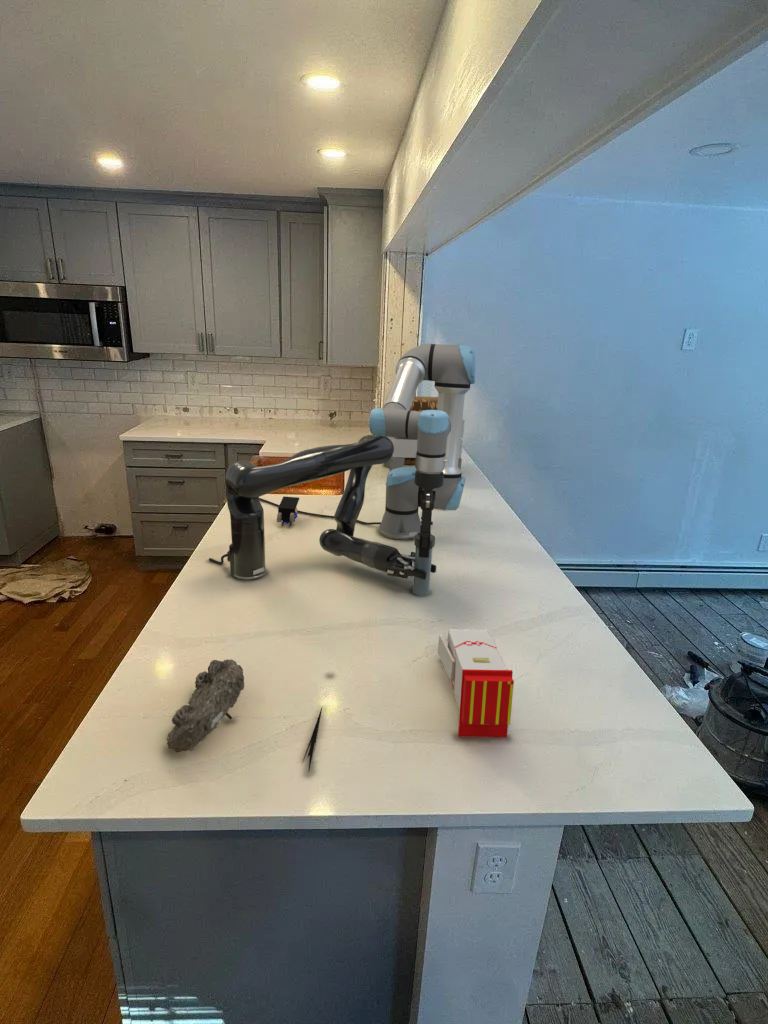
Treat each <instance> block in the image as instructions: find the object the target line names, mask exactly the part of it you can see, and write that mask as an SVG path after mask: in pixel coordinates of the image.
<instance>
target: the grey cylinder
mask: <svg viewBox="0 0 768 1024" xmlns="http://www.w3.org/2000/svg"><path fill="white" fill-rule="evenodd" d="M433 549H434V547H432V548H429V558H424V557H419V547H417V546H415V550H414V552H415V562H413V566H414V569H415V568H416V569H419V570H422V571H425V572H427V578H426V579H425V580H423V579H420V578H417V577H414V576H413V577H412V580H413V581H412V593H413V595H416V596H419V597H425V596H428V595H429V594H430V587H431V576H432V574H431V573H432V572H431V564H433Z"/></svg>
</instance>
